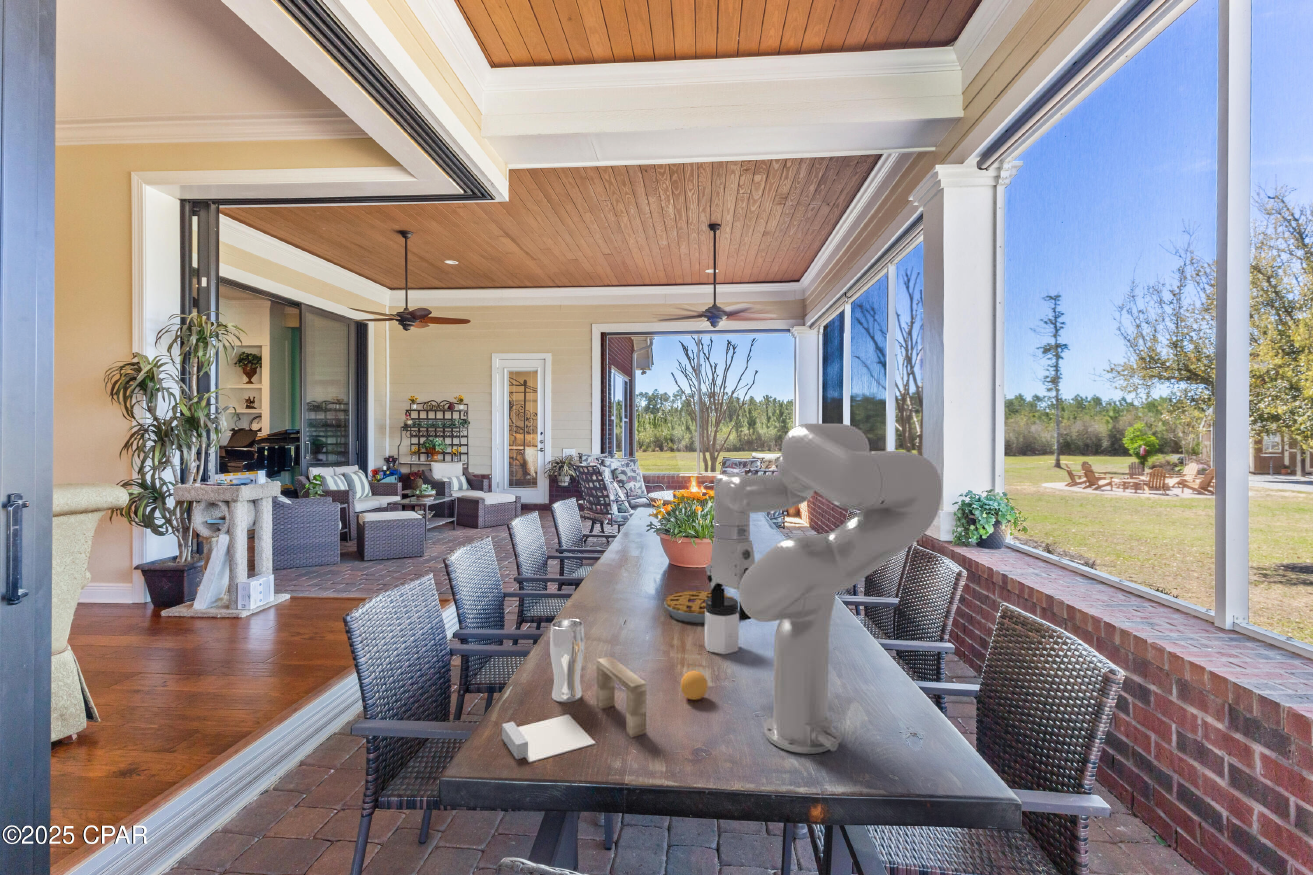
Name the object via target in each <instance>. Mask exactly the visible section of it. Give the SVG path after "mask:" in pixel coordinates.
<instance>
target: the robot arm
mask: <svg viewBox="0 0 1313 875" xmlns="http://www.w3.org/2000/svg"><path fill="white" fill-rule="evenodd" d="M780 453H781V455H780V457H779V459H778V463H777V472H778V474H777V473H776V474H775V473H773V474H752V475H747V474H743V473H721V474H718V475H716V476H715V478H714V481H713V485H714V486H713V491H714V492H713V493H714V494H713V500H714V501H713V503H714V504H713V513H714V514H713V516H714V517H713V540H712V548H711V561H710V563H709V564H707V565H706V566H705V571H706V575H707V580H708V583H709V585H708V586H709V590H710V591H711V608H713V609H714V608H720V607H724V593H725V587H727V588H730V589H732V590H733V589H734V590H736V591H737V592H738V598H739V601H738V614H739V621H747V620H755V621H757V622H761V623H768V622H769V623H770V622H777V621H778V623H777V626H776V629H775V633H774V641H773V642H774V647H773V648H774V649H773V650H774V652H773V654H774V655H773V712H772V713H773V714H772V716H771V717H770V718H768V720H767V721H765V724H764V728H763V729H764V735H765V737H766V738H767V740H768V742H770V743H772V744H773V745H775V746H777V747H778V748H779V749H782V750H785V751H789V752H793V753H797V754H803V755H804V754H808V755H811V754H812V755H814V754H821V753H825V752H827V751H831V752H835V751H837V749H838V747H839V743H841V742H842V740H843V735H842V734H841V733H839V732H838V731H836V730H835V729H834V728H833V718H831V717H829V714H828V713H829V712H828V711H829V710H828V707H829V706H828V705H829V657H830V656H829V654H830V630H831V629H830V628H831V620H832V615H833V611H834V606H835V602H836V595H837V594H836V593H837V592H838V593H839V592H843V591H845V590H848V589H850V588H851V587H853V586H854V585H856V584H857V583H859V582H860V581H862V580H863V579H864V578H866V577H867V576H868V575H870V574H872V573H873V572H874V571H876V570H877V569H879V568H880V567H882V566H883V565H884V564H886V563H887V562H889V561H890V560H892V559H893V558H894V557H896V556H898V555H899V554H901V553H902V552H903V551H905V550H907V549H908V548H909V547H910V546H912V545H914V543H916V542H918V540H919V539H920V538H921V537H922V536H924V534H925V533H926V532H927V531H928V530H930V529H929V528H931V526H932V525H933V523H934V521H935V520H936V517H937V515H938V513H939V510H940V506H941V502H942V494H943V488H942V486H943V485H942V481H941V480H942V479H941V476H940V473H939V471H938V469H937V468H936V466H935V465H934V463H933V462H932V461H930V460H929V459H928V458H926V457H924V456H922V455H920V454H917V453H914V452H909V451H905V450H904V451H901V450H900V451H899V450H881V451H880V450H879V451H878V450H877V451H875V450H874V451H870V444H869V440H868V439H867V437H866V435H865V434H864V432H863V431H861V430H860V429H858V428H857V427H855V426H852V425H849V424H844V423H803V424H799V425H797V426H795V427H793V428H792V429H790V431H788V433H786V434H785V437H784V439H783V441H782V445H781V452H780ZM814 492H817V493H818V494H819V495H820V496H822V497H823V498H825V499H827V500H828V501H830V503H832V504H834V505H836V506H838V507H840V508H842V509H846V510H849V511H850V510H851V511H859V512H857V513H855V514H853V515H852V516H851V517H849V518H848V519H847V520H846V521H845V522H843V524H841V525H839V527H837V528H836V529H834V530H831V531H830V532H825V533H820V534H814V535H803V536H795V537H791V538H786V539H785V540H782V541H780V542H778V543H777V544H775V545H773V547H771V548H770V549H769V550H768V551H766V552H765V554H763V555H762V556H761V557H760V558H759V559H758V560H756V558H755V551H754V544H753V542H752V540H751V524H750V523H751V514H757V513H768V512H769V513H770V512H771V513H772V512H781V511H785V510H789V509H792V508H795V507H797V506H799V505H802V504H804V503H806V502H807V501H809V500H810V499H811V498H812V496H813V494H814ZM724 586H725V587H724Z"/></svg>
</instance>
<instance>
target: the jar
mask: <svg viewBox="0 0 1313 875" xmlns="http://www.w3.org/2000/svg"><path fill="white" fill-rule="evenodd" d="M739 622H740V619H739V601H738V599H736V598H734V597H733V598H731V597H724V607H720V608H714V609H713V608H711V597H710V598H707V599H706V609H705V623H704V647H705V649H706V651H707V652H708V651H709V652H708V653H713V652H714V654H720V655H728V654H731V653H735V652H738V651H739V638H740V637H739V632H740V631H739V628H740V624H739Z"/></svg>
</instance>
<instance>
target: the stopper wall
mask: <svg viewBox="0 0 1313 875" xmlns="http://www.w3.org/2000/svg"><path fill="white" fill-rule="evenodd" d="M501 725H502V726H501V729H502V730H501V738H502V740H503V742H504V743H505V745H506V746H507V748H508V749H509V750H510V752H511V754H512V755H513V757H514V758H515V759H516V760H519V759H523V758H526V757H525V756H527V755H528V741H527V739H526V738H525V737H524V735H523V734H522V733H521V731H520V730H519V729H518V727H519V726H517V725H516V723H515V722H514V721H510V722H506V723H502V724H501Z"/></svg>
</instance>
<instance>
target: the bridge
mask: <svg viewBox="0 0 1313 875" xmlns="http://www.w3.org/2000/svg"><path fill="white" fill-rule="evenodd" d="M616 682H617V683H618V684H620V685H621V686H622V687H624V688H625V689H626V703H625V704H626V706H625V707H626V711H625V712H626V714H625V716H626V717H625V720H626V721H625V723H626V724H625V726H626V727H625V733H626V734H627V735H628V736H629V737H630V738H631V739H632V738H634V737H638V736H641V735H646V734H647V682H645V680H643V679H642V678H641V677H639V676H638V675H636V674H635V673H634V672H632V671H631V670H629V668H627V667H626V666H624V665H622V664H621V663H620V662H619V661H617V660H616V659H614V658H613V657H612V656H606V657H601V658H597V659H596V706H597V707H598V708H599V709H600V710H604V709H607V708H611V706H612V707H614V706H616V705H615V704H616V703H615V701H616V700H615V699H616V698H615V695H616V694H615V692H616V690H615V687H616V685H615V683H616Z"/></svg>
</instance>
